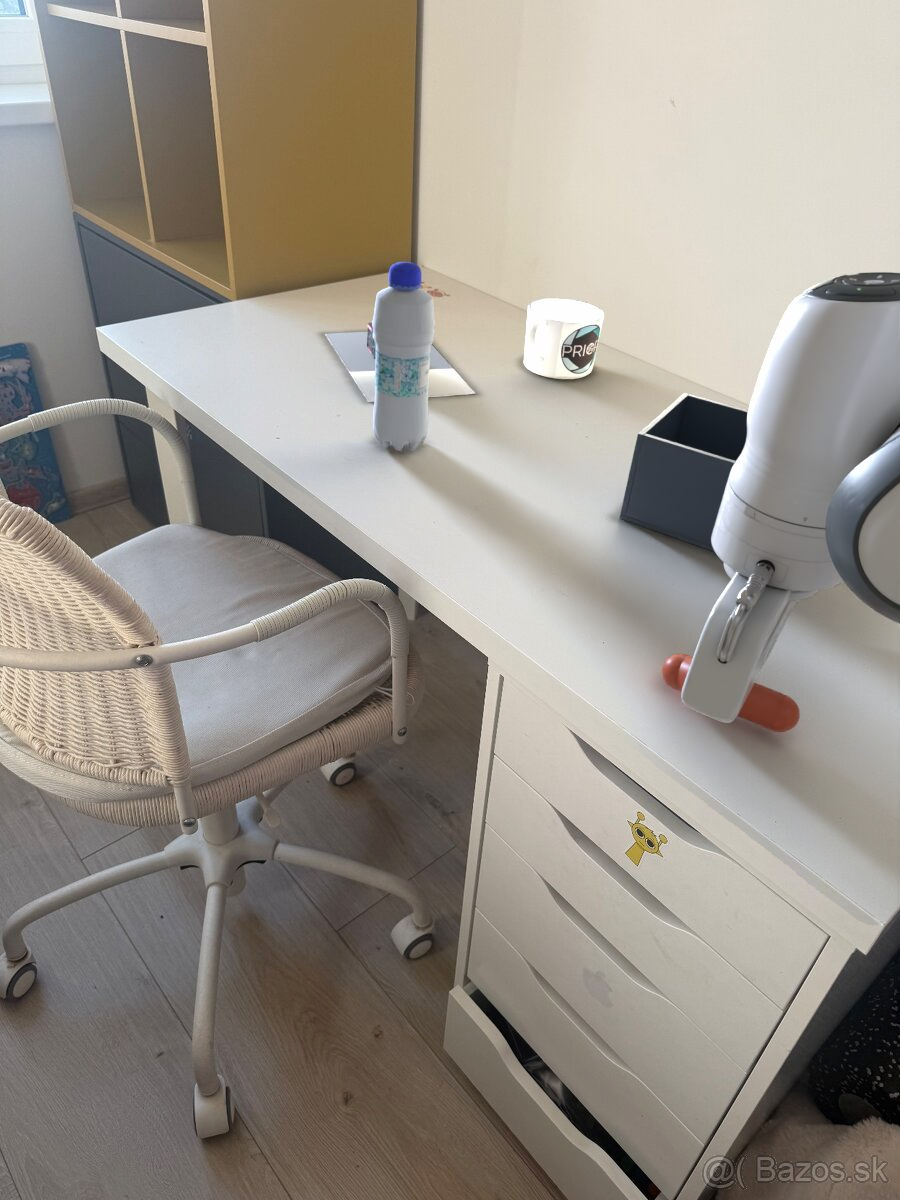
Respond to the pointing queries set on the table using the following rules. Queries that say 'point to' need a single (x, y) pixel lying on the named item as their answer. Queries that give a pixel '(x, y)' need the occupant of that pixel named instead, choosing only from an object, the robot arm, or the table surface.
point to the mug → (562, 337)
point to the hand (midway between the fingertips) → (730, 688)
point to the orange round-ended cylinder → (759, 705)
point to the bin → (684, 468)
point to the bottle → (402, 358)
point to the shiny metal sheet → (360, 363)
